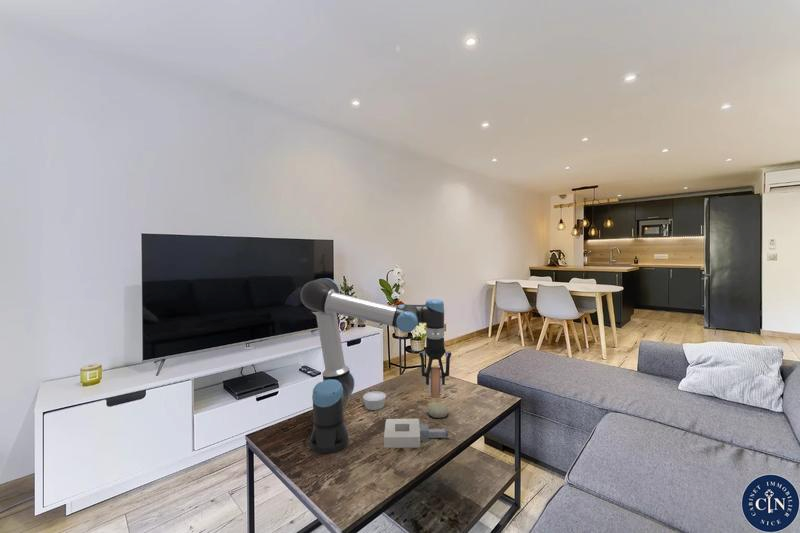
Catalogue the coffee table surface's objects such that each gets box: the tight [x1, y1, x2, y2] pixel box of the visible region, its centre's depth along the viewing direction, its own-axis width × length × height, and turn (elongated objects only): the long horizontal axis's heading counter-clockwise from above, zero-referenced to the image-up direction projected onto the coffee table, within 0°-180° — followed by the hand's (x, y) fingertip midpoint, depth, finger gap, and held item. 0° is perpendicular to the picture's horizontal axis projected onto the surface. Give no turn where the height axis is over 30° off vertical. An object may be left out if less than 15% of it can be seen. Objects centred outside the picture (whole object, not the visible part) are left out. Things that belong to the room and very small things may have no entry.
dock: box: [383, 418, 421, 449], centre depth 138 cm, size 14×14×4 cm
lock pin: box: [429, 426, 449, 439], centre depth 137 cm, size 10×3×3 cm, turn 88°
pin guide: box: [419, 423, 430, 442], centre depth 138 cm, size 4×5×4 cm
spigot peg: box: [430, 366, 441, 399], centre depth 142 cm, size 4×4×12 cm
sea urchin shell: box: [427, 402, 449, 419], centre depth 156 cm, size 9×8×8 cm
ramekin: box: [362, 390, 387, 411], centre depth 166 cm, size 11×11×5 cm
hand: (435, 391), depth 143 cm, fingers closed on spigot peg, 4 cm apart
